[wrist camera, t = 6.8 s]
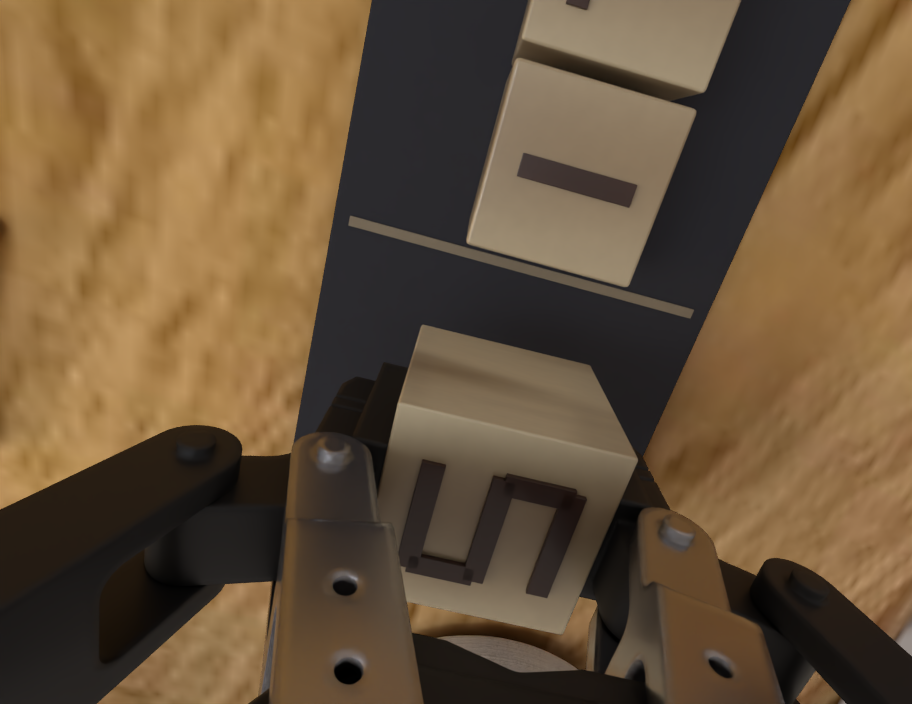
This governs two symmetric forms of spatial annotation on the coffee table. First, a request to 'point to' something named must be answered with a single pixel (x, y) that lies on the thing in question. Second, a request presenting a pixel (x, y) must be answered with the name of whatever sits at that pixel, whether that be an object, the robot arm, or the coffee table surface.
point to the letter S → (500, 479)
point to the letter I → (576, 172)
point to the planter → (510, 653)
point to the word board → (516, 280)
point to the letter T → (630, 41)
